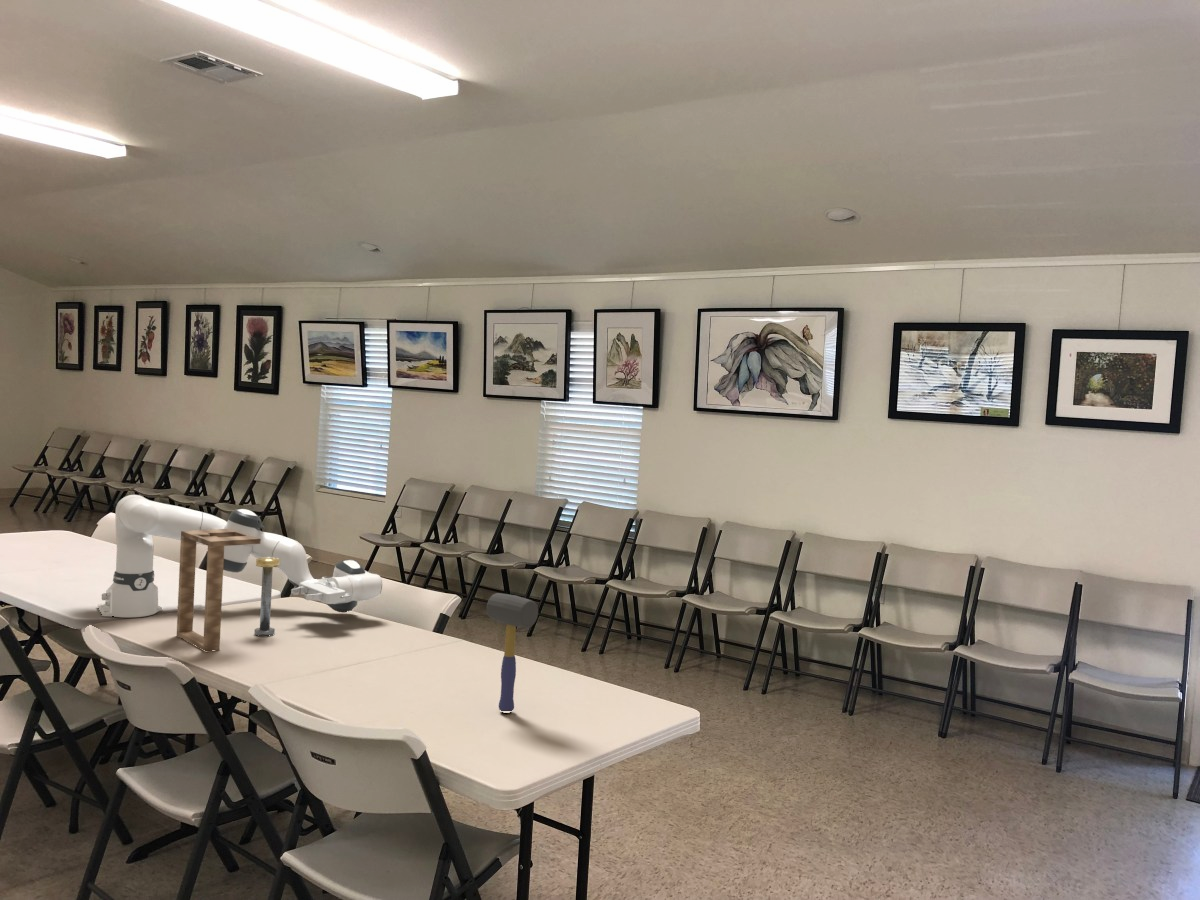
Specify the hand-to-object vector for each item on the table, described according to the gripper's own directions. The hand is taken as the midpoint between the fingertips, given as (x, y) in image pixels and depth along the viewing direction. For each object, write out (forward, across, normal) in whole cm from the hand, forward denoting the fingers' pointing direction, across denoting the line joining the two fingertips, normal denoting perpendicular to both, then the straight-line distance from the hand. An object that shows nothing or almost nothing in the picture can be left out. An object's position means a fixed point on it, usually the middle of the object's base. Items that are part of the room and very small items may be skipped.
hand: (298, 594), depth 305 cm
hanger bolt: (+11, +1, -12) cm, 16 cm away
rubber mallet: (-6, -100, -12) cm, 101 cm away
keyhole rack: (+27, 0, -12) cm, 29 cm away
